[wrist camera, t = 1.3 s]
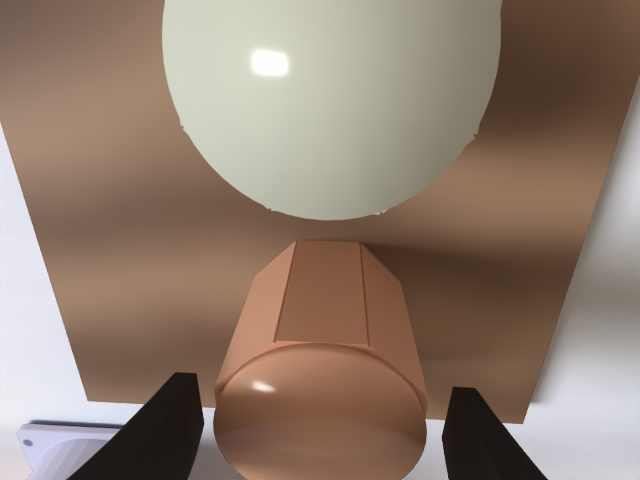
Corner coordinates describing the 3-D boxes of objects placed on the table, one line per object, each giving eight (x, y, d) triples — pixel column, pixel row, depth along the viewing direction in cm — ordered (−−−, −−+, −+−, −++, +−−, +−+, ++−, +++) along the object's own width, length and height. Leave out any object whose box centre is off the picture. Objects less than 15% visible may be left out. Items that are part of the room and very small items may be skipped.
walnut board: (512, 402, 20) (522, 424, 19) (101, 381, 20) (88, 401, 19) (654, -56, 12) (686, -65, 11) (-27, -64, 12) (-61, -74, 11)
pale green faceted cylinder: (417, 150, 13) (467, 225, 8) (246, 145, 14) (184, 215, 8) (443, -58, 11) (540, -152, 6) (234, -61, 11) (133, -155, 6)
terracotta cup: (391, 362, 17) (413, 508, 12) (259, 356, 18) (222, 496, 12) (405, 244, 15) (441, 359, 10) (252, 238, 15) (202, 348, 10)
